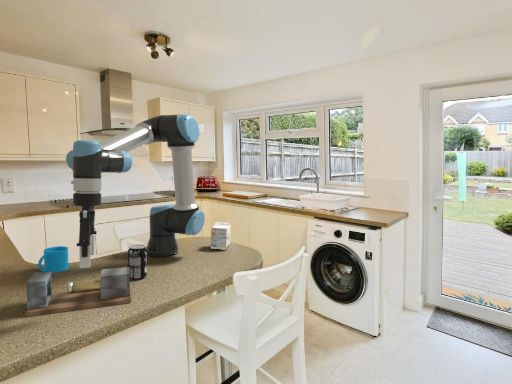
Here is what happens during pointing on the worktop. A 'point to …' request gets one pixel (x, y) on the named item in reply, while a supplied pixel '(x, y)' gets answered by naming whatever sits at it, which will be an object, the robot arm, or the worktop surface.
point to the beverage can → (137, 261)
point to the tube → (84, 286)
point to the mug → (54, 259)
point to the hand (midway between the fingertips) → (87, 260)
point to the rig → (45, 302)
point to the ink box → (220, 234)
